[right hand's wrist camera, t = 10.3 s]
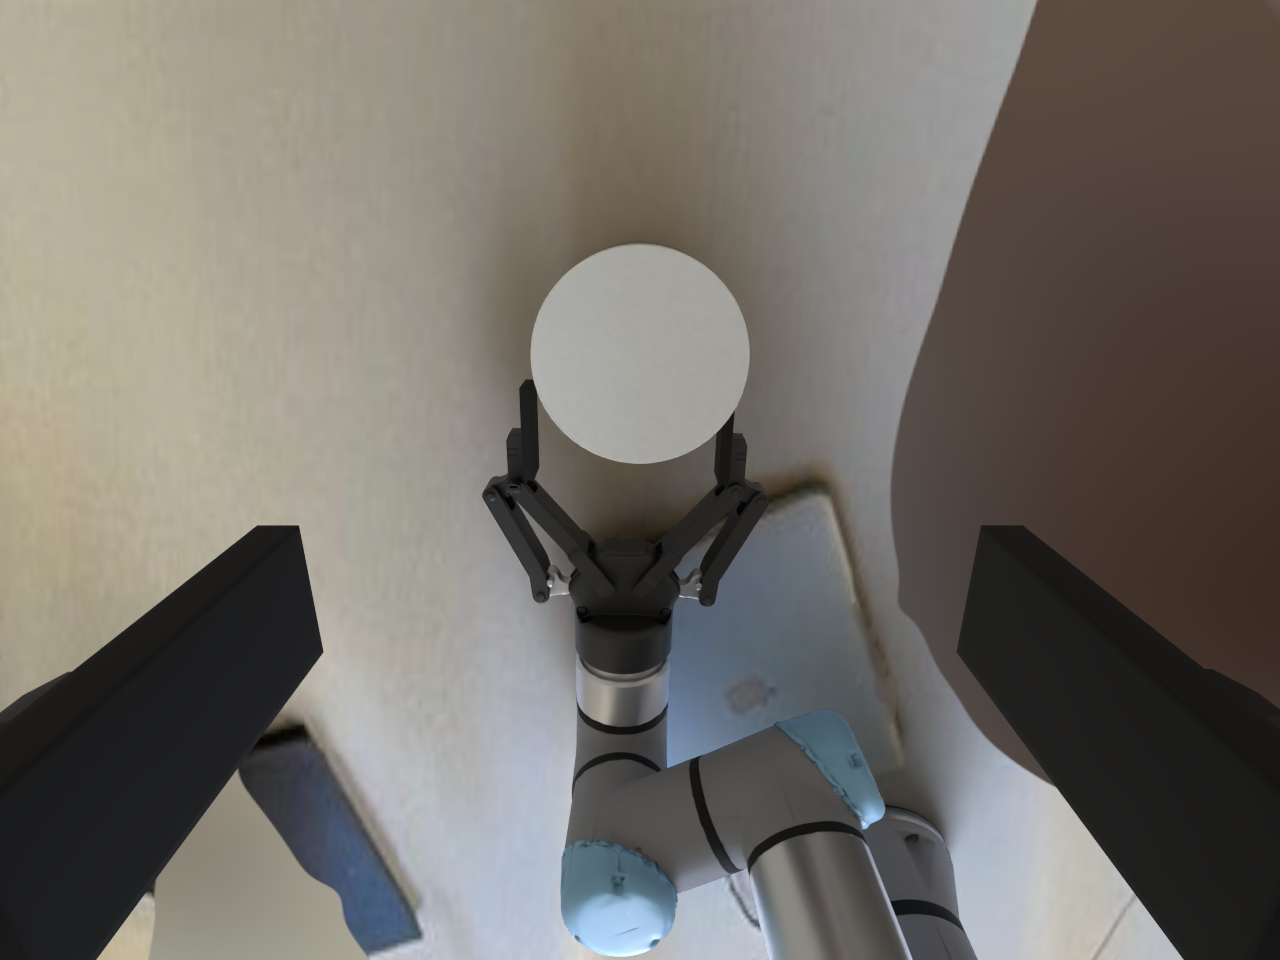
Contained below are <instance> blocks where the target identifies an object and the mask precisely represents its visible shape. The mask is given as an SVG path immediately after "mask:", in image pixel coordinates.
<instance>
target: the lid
mask: <svg viewBox="0 0 1280 960" xmlns="http://www.w3.org/2000/svg"><path fill="white" fill-rule="evenodd" d="M530 357H531V370H532V375H533V380H534V384H535V387H536V390H537V393H538V396H539V398H540V400H541V402H542V404H543V406H544V408H545V410H546V411H547V413H548V414H549V416H550V417H551V419H552V420H553V421H554V422H555V424H556V425H557V426H558V427H559V428H560V430H561V431H562V432H564V433H565V434H566V435H567V436H568V437H569V438H570V439H571V440H573V441H574V442H576V443H577V444H578V445H580V446H581V447H583V448H585V449H586V450H588V451H590V452H592V453H594V454H596V455H599V456H601V457H604V458H607V459H610V460H615V461H619V462H625V463H634V464H643V463H655V462H662V461H666V460H670V459H673V458H676V457H679V456H681V455H684V454H686V453H688V452H690V451H692V450H694V449H696V448H697V447H699V446H701V445H702V444H703V443H705V442H706V441H707V440H709V439H710V438H711V437H712V436H713V435H714V434H715V433H717V432H718V431H719V430H720V429H721V427H722V426H723V425H724V424H725V423H726V421H727V420H728V419H729V418H730V416H731V414H732V413H733V411H734V410H735V408H736V407H737V404H738V402H739V400H740V398H741V396H742V394H743V390H744V387H745V384H746V381H747V376H748V370H749V360H750V347H749V337H748V332H747V328H746V323H745V320H744V318H743V315H742V312H741V310H740V308H739V306H738V304H737V302H736V300H735V298H734V296H733V295H732V293H731V292H730V291H729V289H728V288H727V286H726V285H725V284H724V283H723V282H722V281H721V280H720V278H719V277H718V276H717V275H716V274H715V273H714V272H712V271H711V270H710V269H709V268H707V267H706V266H705V265H704V264H702V263H701V262H699V261H697V260H696V259H694V258H692V257H691V256H689V255H687V254H685V253H683V252H680V251H678V250H676V249H672V248H669V247H665V246H661V245H654V244H647V243H642V244H626V245H619V246H615V247H611V248H608V249H605V250H602V251H600V252H598V253H595V254H593V255H591V256H589V257H588V258H586V259H584V260H583V261H581V262H580V263H578V264H577V265H575V266H574V267H573V268H572V269H570V270H569V271H568V272H567V273H566V274H564V275H563V276H562V278H561V279H560V280H559V281H558V282H557V283H556V284H555V285H554V287H553V288H552V289H551V291H550V292H549V294H548V295H547V297H546V298H545V300H544V302H543V304H542V306H541V308H540V310H539V312H538V315H537V318H536V321H535V324H534V328H533V333H532V338H531V350H530Z"/></svg>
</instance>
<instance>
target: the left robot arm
mask: <svg viewBox="0 0 1280 960" xmlns="http://www.w3.org/2000/svg"><path fill="white" fill-rule="evenodd" d="M519 390H520V415H521V428H512V430H511V432H510V433H509V435H508V438H507V462H508V474H506V475H504V476H501V477H498V476H495V477H493V478H491V480H490V481H489V483H488V485H487V486H486V488H485V490H484V492H483V494H482V497H483V500H484V501H485V503H486V505H487V506H488V508H489V510H490V511H491V513H492V515H493V516H494V518H495V520H496V521H497V523H498V525H499V526H500V528H501V530H502V531H503V533H504V535H505V537H506V538H507V540H508V542H509V543H510V545H511V547H512V548H513V550H514V552H515V553H516V555H517V557H518V558H519V560H520V562H521V563H522V565H523V567H524V568H525V570H526V572H527V573H528V575H529V577H530V582H531V588H532V594H533V598H534V600H535V601H536V602H538V603H545V602H546V601H547V600H548V599H549V596H553V595H566V594H570V596H571V597H572V599H573V600H574V603H575V621H576V650H577V655H576V695H577V747H576V759H575V767H574V775H573V784H572V805H571V812H570V819H569V825H568V831H567V838H566V844H565V850H564V851H563V856H562V864H561V866H562V869H561V912H562V917H563V921H564V923H565V925H566V927H567V929H568V931H569V932H570V933H571V935H573V936H574V938H575V939H576V940H577V941H578V942H579V943H580V944H581V945H583V946H585V947H586V948H588V949H590V950H592V951H594V952H597V953H600V954H603V955H608V956H617V957H626V956H633V955H638V954H641V953H644V952H647V951H649V950H651V949H653V948H654V947H656V945H657V943H658V942H659V940H660V939H661V938H664V937H666V936H667V935H668V933H669V932H670V930H671V928H672V926H673V923H674V918H675V908H676V907H677V905H676V903H677V902H678V900H677V895H676V894H678V893H681V892H683V891H686V890H689V889H692V888H695V887H698V886H700V885H703V884H706V883H709V882H711V881H714V880H717V879H720V878H722V877H725V876H728V875H731V874H733V873H736V872H739V871H741V870H744V869H745V868H748V872H749V876H750V877H749V881H750V885H751V889H752V893H753V898H754V902H755V906H756V910H757V915H758V919H759V923H760V927H761V932H762V936H763V940H764V944H765V948H766V953H767V957H768V960H977V957H976V955H975V953H974V951H973V948H972V946H971V944H970V942H969V939H968V938H967V935H966V933H965V931H964V929H963V927H962V924H961V922H960V920H959V912H958V904H957V896H956V887H955V879H954V870H953V864H952V861H951V857H950V854H949V851H948V849H947V847H946V845H945V843H944V841H943V839H942V837H941V835H940V834H939V832H938V831H937V829H936V828H935V827H934V826H933V825H932V824H931V823H930V822H928V821H927V820H926V819H924V818H923V817H921V816H919V815H917V814H915V813H912V812H910V811H907V810H903V809H899V808H893V807H885V804H884V801H883V799H882V797H881V795H880V792H879V789H878V787H877V784H876V782H875V780H874V777H873V775H872V773H871V770H870V768H869V766H868V764H867V762H866V759H865V757H864V755H863V753H862V751H861V749H860V747H859V744H858V742H857V740H856V738H855V736H854V734H853V732H852V730H851V728H850V726H849V724H848V723H847V721H846V719H845V718H844V717H843V716H842V715H841V714H840V713H839V712H837V711H835V710H831V709H823V710H819V711H816V712H813V713H810V714H807V715H803V716H800V717H797V718H794V719H790V720H787V721H784V722H776V723H775V724H774V726H772V727H770V728H767V729H765V730H762V731H760V732H758V733H755V734H753V735H750V736H748V737H746V738H743V739H741V740H739V741H736V742H734V743H731V744H729V745H727V746H724V747H722V748H719V749H717V750H715V751H712V752H710V753H708V754H705V755H703V756H702V755H701V756H698V757H696V758H693V759H690V760H688V761H685V762H682V763H680V764H677V765H675V766H672V767H670V768H667V707H668V699H669V682H670V654H669V653H670V650H671V635H672V615H673V605H674V603H675V601H676V600H677V598H678V597H685V598H693V599H699V602H700V604H701V605H702V606H705V607H709V606H712V605H713V604H714V602H715V599H716V594H717V589H718V584H719V581H720V579H721V578H722V576H723V574H724V573H725V571H726V570H727V568H728V567H729V565H730V564H731V562H732V561H733V559H734V557H735V556H736V554H737V553H738V551H739V550H740V548H741V547H742V545H743V543H744V542H745V540H746V539H747V537H748V536H749V534H750V533H751V531H752V530H753V528H754V526H755V525H756V523H757V522H758V520H759V519H760V517H761V516H762V514H763V512H764V511H765V509H766V508H767V506H768V504H769V499H768V497H767V495H766V493H765V491H764V488H763V486H762V485H761V484H760V483H757V482H750V481H748V480H746V479H745V466H746V454H747V445H746V442H745V439H744V437H743V435H742V434H740V433H733V423H734V411H733V413H732V414H731V416H730V418H729V419H728V420H727V421H726V423H725V424H724V425H723V426H722V427H721V429H720V430H719V431H718V432H717V437H716V452H715V467H714V472H715V475H716V479H717V482H718V484H717V485H716V486H715V487H714V488H713V489H712V490H711V491H710V492H709V493H708V494H707V495H706V496H705V497H704V498H703V499H702V500H701V501H700V502H699V503H698V504H697V505H696V506H695V507H694V508H693V509H692V510H691V511H690V512H689V513H688V514H687V515H686V516H685V517H684V518H683V519H682V520H681V521H680V522H679V523H678V524H677V525H676V526H675V527H674V528H673V529H672V530H671V531H670V532H669V533H666V534H664V535H663V536H662V537H661V538H660V539H659V540H658V541H657V542H656V543H655V544H654V545H653V544H651V543H649V542H646V539H632V540H628V541H624V540H620V539H616V538H605V541H602V542H600V543H598V544H597V543H596V542H595V541H594V540H593V539H592V538H591V537H590V535H589V534H588V533H587V532H585V531H582V530H581V529H580V528H579V527H578V526H577V525H576V524H575V522H574V521H573V520H572V519H571V518H570V517H569V516H568V515H567V514H566V513H565V512H564V511H563V509H562V508H561V507H560V506H559V505H558V504H557V503H556V502H555V501H554V500H553V499H552V498H551V496H550V495H549V494H548V493H547V492H546V491H545V490H544V489H543V488H542V487H541V486H540V484H539V483H538V482H537V481H536V480H535V476H536V474H537V471H538V469H539V444H538V411H537V390H536V387H535V384H534V380H525V381H524V383H523V384H522V385H521V387H520V388H519ZM515 499H516V500H517V501H516V500H515ZM517 502H518V503H519V504H520V505H521V506H522V507H523V508H524V509H525V510H526V511H527V512H528V513H529V514H530V515H531V516H532V517H533V519H534V520H535V521H536V522H537V523H538V524H539V525H540V526H541V527H542V528H543V529H544V530H545V531H546V532H547V533H548V534H549V536H550V537H551V538H552V539H553V540H554V541H555V542H556V543H557V544H558V545H559V546H560V547H561V548H562V549H563V550H564V551H565V553H566V554H567V556H568V558H569V560H570V562H571V563H572V564H573V565H574V566H575V567H576V569H575V570H574V571H573V573H572V574H571V576H570V577H565V576H563V575H562V574H561V572H560V570H559V569H558V568H557V567H556V566H555V565H552V566H550V561H549V558H548V556H547V554H546V552H545V550H544V548H543V546H542V545H541V543H540V541H539V539H538V538H537V536H536V534H535V532H534V531H533V529H532V527H531V526H530V524H529V522H528V520H527V519H526V517H525V515H524V513H523V512H522V510H521V508H520V506H519V505H518V503H517ZM736 504H737V505H736ZM735 505H736V506H735ZM734 506H735V508H734V510H733V511H732V513H731V514H730V516H729V518H728V519H727V521H726V522H725V524H724V526H723V527H722V529H721V530H720V532H719V534H718V535H717V537H716V538H715V540H714V542H713V543H712V545H711V546H710V548H709V550H708V551H707V553H706V554H705V556H704V558H703V560H702V562H701V565H700V569H697V568H696V569H694V570H693V571H692V572H691V573H690V575H689V576H688V577H687V578H686V579H683V580H679V577H678V575H677V574H676V573H675V571H674V570H673V569H674V568H675V567H676V566H677V565H678V564H679V563H680V561H681V559H682V557H683V556H684V555H685V554H686V553H687V552H688V551H689V550H690V549H691V548H692V547H693V546H694V545H695V544H696V543H697V542H698V541H699V540H700V539H701V538H702V537H703V536H704V535H705V534H706V533H707V532H708V531H709V530H710V529H711V528H712V527H713V526H714V525H715V524H716V523H717V522H718V521H719V520H720V519H721V518H722V517H723V516H724V515H725V514H726V513H727V512H728V511H729V510H731V509H732V508H733V507H734Z"/></svg>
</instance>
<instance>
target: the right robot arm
mask: <svg viewBox="0 0 1280 960" xmlns="http://www.w3.org/2000/svg"><path fill="white" fill-rule="evenodd" d="M322 653H323V647H322V642H321V637H320V632H319V627H318V622H317V616H316V611H315V606H314V601H313V596H312V591H311V586H310V580H309V575H308V570H307V565H306V560H305V555H304V549H303V544H302V539H301V534H300V529H299V526H256V527H255V528H254V529H252V530H251V531H250V532H248V533H247V534H246V535H245V536H243V537H242V538H241V539H240V540H238V541H237V542H236V543H235V544H233V545H232V546H231V547H229V548H228V549H227V550H226V551H224V552H223V553H222V554H221V555H219V556H218V557H217V558H216V559H214V560H213V561H212V562H210V563H209V564H208V565H207V566H205V567H204V568H203V569H202V570H200V571H199V572H198V573H197V574H195V575H194V576H193V577H191V578H190V579H189V580H188V581H186V582H185V583H184V584H183V585H181V586H180V587H179V588H177V589H176V590H175V591H174V592H172V593H171V594H170V595H169V596H167V597H166V598H165V599H164V600H162V601H161V602H160V603H158V604H157V605H156V606H155V607H153V608H152V609H151V610H150V611H148V612H147V613H146V614H145V615H143V616H142V617H141V618H139V619H138V620H137V621H136V622H134V623H133V624H132V625H131V626H129V627H128V628H127V629H126V630H124V631H123V632H122V633H120V634H119V635H118V636H117V637H115V638H114V639H113V640H112V641H110V642H109V643H108V644H107V645H105V646H104V647H103V648H101V649H100V650H99V651H98V652H96V653H95V654H94V655H93V656H91V657H90V658H89V659H87V660H86V661H85V662H84V663H82V664H81V665H80V666H79V667H77V668H76V669H75V670H74V671H72V672H67V673H65V674H63V675H61V676H59V677H57V678H55V679H53V680H52V681H50V682H48V683H46V684H44V685H42V686H40V687H38V688H36V689H34V690H32V691H30V692H28V693H27V694H25V695H23V696H21V697H20V698H19V699H18V700H16V701H15V702H14V703H12V704H11V705H10V706H8V707H7V708H6V709H4V710H3V711H2V712H1V713H0V960H96V959H97V958H98V957H99V955H100V954H101V952H102V951H103V950H104V948H105V947H106V946H107V944H108V943H109V942H110V940H111V939H112V938H113V936H114V935H115V934H116V932H117V931H118V929H119V928H120V927H121V925H122V924H123V923H124V921H125V920H126V919H127V917H128V916H129V915H130V913H131V912H132V911H133V909H134V908H135V906H136V905H137V904H138V902H139V901H140V900H141V898H142V897H143V896H144V894H145V893H146V892H147V890H148V889H149V888H150V886H151V885H152V883H153V882H154V881H155V879H156V878H157V877H158V875H159V874H160V873H161V871H162V870H163V868H164V867H165V866H166V865H167V863H168V862H169V860H170V859H171V858H172V856H173V855H174V854H175V852H176V851H177V850H178V848H179V847H180V846H181V844H182V843H183V842H184V840H185V839H186V837H187V836H188V835H189V833H190V832H191V831H192V829H193V828H194V827H195V825H196V824H197V822H198V821H199V820H200V818H201V817H202V816H203V814H204V813H205V812H206V810H207V809H208V808H209V806H210V805H211V804H212V802H213V801H214V800H215V798H216V797H217V795H218V794H219V793H220V791H221V790H222V789H223V787H224V786H225V785H226V783H227V782H228V781H229V779H230V778H231V777H232V775H233V774H234V772H235V771H236V770H237V768H238V767H239V766H240V764H241V763H242V762H243V760H244V759H245V758H246V756H247V755H248V754H249V752H250V751H251V749H252V748H253V747H254V745H255V744H256V743H257V741H258V740H259V739H260V737H261V736H262V735H263V733H264V732H265V731H266V729H267V728H268V726H269V725H270V724H271V722H272V721H273V720H274V718H275V717H276V716H277V714H278V713H279V712H280V710H281V709H282V708H283V706H284V705H285V703H286V702H287V701H288V699H289V698H290V697H291V695H292V694H293V693H294V691H295V690H296V689H297V687H298V686H299V684H300V683H301V682H302V680H303V679H304V678H305V676H306V675H307V674H308V672H309V671H310V670H311V668H312V667H313V666H314V664H315V663H316V661H317V660H318V659H319V657H320V656H321V655H322ZM957 653H958V655H959V656H960V657H961V659H962V660H963V661H964V663H965V664H966V665H967V667H968V668H969V670H970V671H971V672H972V674H973V675H974V676H975V678H976V679H977V680H978V682H979V683H980V684H981V686H982V687H983V689H984V690H985V691H986V693H987V694H988V695H989V697H990V698H991V699H992V701H993V702H994V703H995V705H996V706H997V708H998V709H999V710H1000V711H1001V713H1002V714H1003V716H1004V717H1005V718H1006V720H1007V721H1008V722H1009V724H1010V725H1011V726H1012V728H1013V729H1014V730H1015V732H1016V733H1017V735H1018V736H1019V737H1020V739H1021V740H1022V741H1023V743H1024V744H1025V745H1026V747H1027V748H1028V749H1029V751H1030V752H1031V753H1032V755H1033V756H1034V758H1035V759H1036V760H1037V762H1038V763H1039V764H1040V766H1041V767H1042V768H1043V770H1044V771H1045V772H1046V774H1047V775H1048V777H1049V778H1050V779H1051V781H1052V782H1053V783H1054V785H1055V786H1056V787H1057V789H1058V790H1059V791H1060V793H1061V794H1062V795H1063V797H1064V798H1065V800H1066V801H1067V802H1068V804H1069V805H1070V806H1071V808H1072V809H1073V810H1074V812H1075V813H1076V814H1077V816H1078V817H1079V818H1080V820H1081V821H1082V823H1083V824H1084V825H1085V827H1086V828H1087V829H1088V831H1089V832H1090V833H1091V835H1092V836H1093V837H1094V839H1095V840H1096V842H1097V843H1098V844H1099V846H1100V847H1101V848H1102V850H1103V851H1104V852H1105V854H1106V855H1107V856H1108V858H1109V859H1110V860H1111V862H1112V863H1113V865H1114V866H1115V867H1116V869H1117V870H1118V871H1119V873H1120V874H1121V875H1122V877H1123V878H1124V879H1125V881H1126V882H1127V883H1128V885H1129V886H1130V888H1131V889H1132V890H1133V892H1134V893H1135V894H1136V896H1137V897H1138V898H1139V900H1140V901H1141V902H1142V904H1143V905H1144V906H1145V908H1146V909H1147V911H1148V912H1149V913H1150V915H1151V916H1152V917H1153V919H1154V920H1155V921H1156V923H1157V924H1158V925H1159V927H1160V928H1161V929H1162V931H1163V932H1164V934H1165V935H1166V936H1167V938H1168V939H1169V940H1170V942H1171V943H1172V944H1173V946H1174V947H1175V948H1176V950H1177V951H1178V952H1179V954H1180V955H1181V957H1182V958H1183V959H1184V960H1280V709H1279V708H1277V707H1276V706H1275V705H1273V704H1272V703H1271V702H1269V701H1268V700H1267V699H1265V698H1264V697H1263V696H1262V695H1260V694H1259V693H1257V692H1255V691H1254V690H1252V689H1250V688H1248V687H1246V686H1244V685H1242V684H1240V683H1238V682H1236V681H1234V680H1232V679H1230V678H1228V677H1226V676H1224V675H1223V674H1221V673H1219V672H1217V671H1215V670H1213V669H1204V668H1203V667H1201V666H1200V665H1199V664H1197V663H1196V662H1195V661H1194V660H1192V659H1191V658H1190V657H1189V656H1187V655H1186V654H1185V653H1184V652H1182V651H1181V650H1180V649H1179V648H1177V647H1176V646H1175V645H1173V644H1172V643H1171V642H1170V641H1168V640H1167V639H1166V638H1164V637H1163V636H1162V635H1161V634H1159V633H1158V632H1157V631H1156V630H1154V629H1153V628H1152V627H1151V626H1149V625H1148V624H1147V623H1146V622H1144V621H1143V620H1142V619H1140V618H1139V617H1138V616H1137V615H1135V614H1134V613H1133V612H1132V611H1130V610H1129V609H1128V608H1127V607H1125V606H1124V605H1123V604H1122V603H1120V602H1119V601H1118V600H1116V599H1115V598H1114V597H1113V596H1111V595H1110V594H1109V593H1107V592H1106V591H1105V590H1104V589H1102V588H1101V587H1100V586H1099V585H1097V584H1096V583H1095V582H1094V581H1092V580H1091V579H1090V578H1089V577H1087V576H1086V575H1085V574H1083V573H1082V572H1081V571H1080V570H1078V569H1077V568H1076V567H1075V566H1073V565H1072V564H1071V563H1070V562H1068V561H1067V560H1066V559H1064V558H1063V557H1062V556H1061V555H1059V554H1058V553H1057V552H1056V551H1054V550H1053V549H1052V548H1051V547H1049V546H1048V545H1047V544H1045V543H1044V542H1043V541H1042V540H1040V539H1039V538H1038V537H1037V536H1035V535H1034V534H1033V533H1032V532H1030V531H1029V530H1028V529H1026V528H1025V527H1024V526H981V529H980V534H979V539H978V544H977V549H976V555H975V560H974V565H973V570H972V575H971V580H970V586H969V591H968V596H967V601H966V606H965V611H964V617H963V622H962V627H961V632H960V637H959V642H958V647H957Z"/></svg>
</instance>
